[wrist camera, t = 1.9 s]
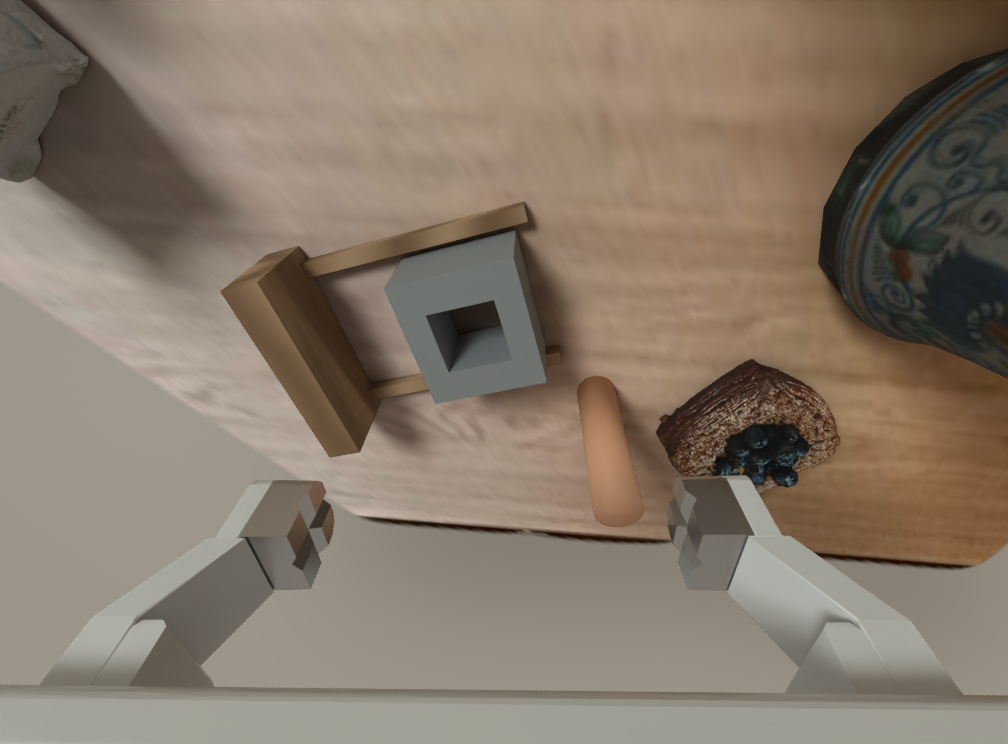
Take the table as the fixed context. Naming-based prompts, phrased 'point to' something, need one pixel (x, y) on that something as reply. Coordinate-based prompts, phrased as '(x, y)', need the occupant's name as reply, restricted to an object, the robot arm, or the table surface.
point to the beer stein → (930, 218)
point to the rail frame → (335, 328)
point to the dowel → (608, 455)
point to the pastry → (751, 428)
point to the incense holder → (30, 84)
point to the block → (459, 283)
